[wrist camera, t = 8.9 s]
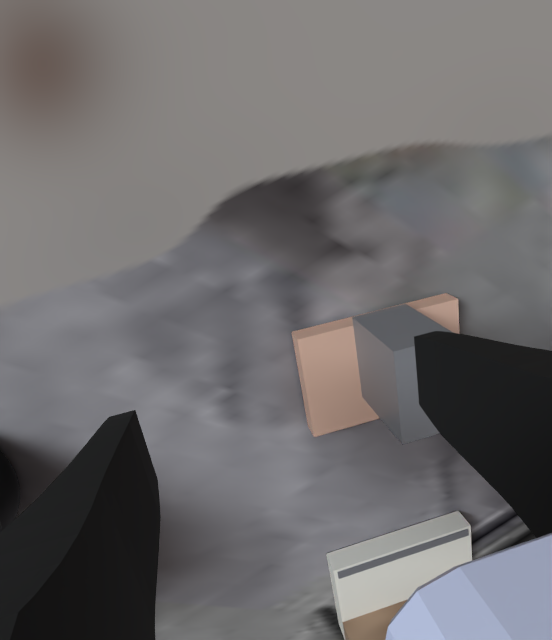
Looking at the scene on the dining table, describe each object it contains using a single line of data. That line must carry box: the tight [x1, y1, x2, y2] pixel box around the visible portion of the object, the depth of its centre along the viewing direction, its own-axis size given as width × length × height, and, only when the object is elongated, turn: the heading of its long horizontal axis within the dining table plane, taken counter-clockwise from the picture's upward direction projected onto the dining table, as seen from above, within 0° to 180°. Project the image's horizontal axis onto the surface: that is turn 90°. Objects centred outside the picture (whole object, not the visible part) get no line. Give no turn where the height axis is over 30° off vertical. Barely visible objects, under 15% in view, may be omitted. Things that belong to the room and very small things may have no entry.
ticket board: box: [326, 511, 472, 640], centre depth 27 cm, size 8×6×3 cm
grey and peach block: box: [292, 293, 460, 445], centre depth 21 cm, size 8×5×5 cm
